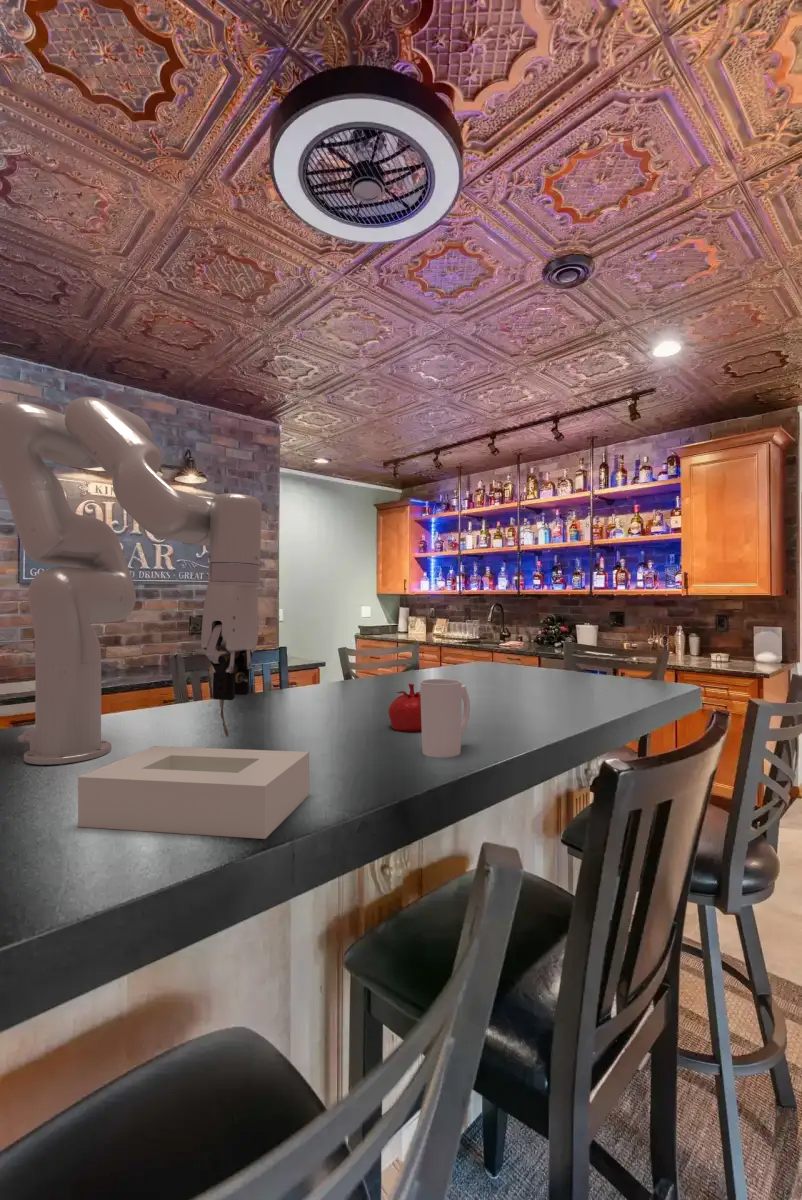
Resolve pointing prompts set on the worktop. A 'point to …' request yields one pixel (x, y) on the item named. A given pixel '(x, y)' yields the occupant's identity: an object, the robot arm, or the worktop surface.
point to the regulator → (238, 678)
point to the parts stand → (195, 791)
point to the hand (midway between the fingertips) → (231, 695)
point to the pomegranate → (406, 712)
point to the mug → (443, 716)
